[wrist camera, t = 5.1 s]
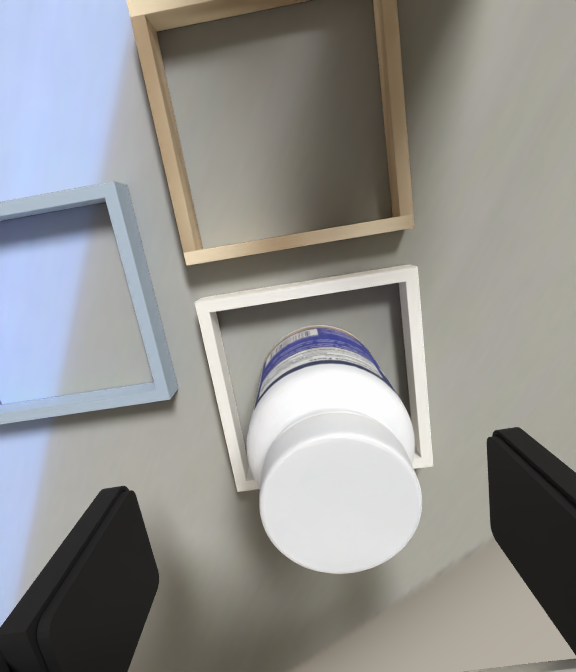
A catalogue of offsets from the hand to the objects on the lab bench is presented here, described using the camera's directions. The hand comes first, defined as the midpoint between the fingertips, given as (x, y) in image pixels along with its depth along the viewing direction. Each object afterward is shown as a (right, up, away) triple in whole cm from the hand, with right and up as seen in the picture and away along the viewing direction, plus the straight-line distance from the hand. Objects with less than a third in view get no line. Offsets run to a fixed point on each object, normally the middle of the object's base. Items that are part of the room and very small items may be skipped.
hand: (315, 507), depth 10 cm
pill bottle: (+1, +3, +8) cm, 8 cm away
